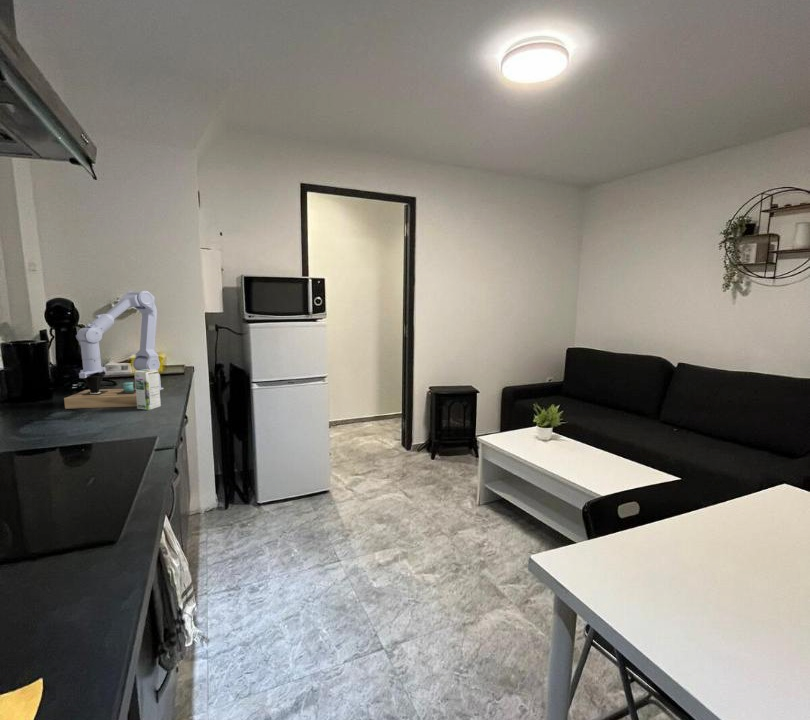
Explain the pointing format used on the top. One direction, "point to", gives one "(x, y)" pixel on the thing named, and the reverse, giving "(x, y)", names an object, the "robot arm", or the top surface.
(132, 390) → the teal peg
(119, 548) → the top surface
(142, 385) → the syrup box
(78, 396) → the oak board
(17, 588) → the top surface
